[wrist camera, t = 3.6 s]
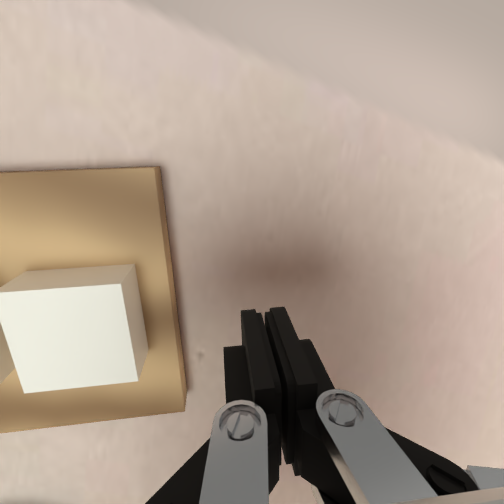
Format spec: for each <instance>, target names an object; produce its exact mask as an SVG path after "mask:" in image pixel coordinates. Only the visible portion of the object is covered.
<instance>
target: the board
mask: <svg viewBox="0 0 504 504" xmlns="http://www.w3.org/2000/svg"><path fill="white" fill-rule="evenodd" d="M124 264H135V269H136V275H137V281H138V287H139V293H140V300H141V306H142V312H143V318H144V324H145V331H146V337H147V343H148V349H149V350H148V353H147V356H146V359H145V362H144V366H143V369H142V372H141V375H140V378H139V381H136V382H127V383H118V384H108V385H99V386H90V387H81V388H71V389H62V390H53V391H43V392H34V393H25V394H24V392H23V389H22V386H21V383H20V380H19V377H18V374H17V371H16V368H15V369H14V370H13V371H12V372H11V373H10V374H9V375H8V376H7V377H6V378H5V380H4V381H3V382H2V383H1V384H0V433H7V432H16V431H24V430H32V429H41V428H49V427H58V426H66V425H74V424H83V423H91V422H99V421H108V420H116V419H125V418H133V417H141V416H150V415H158V414H166V413H175V412H183V411H185V405H186V396H187V387H186V379H185V371H184V362H183V354H182V346H181V337H180V329H179V321H178V312H177V304H176V296H175V287H174V279H173V271H172V263H171V254H170V246H169V238H168V229H167V221H166V213H165V204H164V196H163V188H162V179H161V171H160V166H157V167H128V168H99V169H71V170H42V171H13V172H0V287H2V286H3V285H5V284H6V283H8V282H9V281H11V280H13V279H14V278H16V277H17V276H19V275H21V274H22V273H24V272H25V271H35V270H50V269H65V268H80V267H95V266H110V265H124Z"/></svg>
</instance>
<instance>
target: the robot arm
mask: <svg viewBox="0 0 504 504" xmlns="http://www.w3.org/2000/svg"><path fill="white" fill-rule="evenodd" d="M241 329H242V346H232V347H224V369H225V390H226V405H224V406H223V407H222V408H220V410H219V411H218V412H217V413H216V415H215V418H214V421H213V426H212V432H211V437H210V438H209V439H208V440H207V441H206V442H205V443H204V444H203V446H202V447H201V448H200V449H199V450H198V451H197V452H196V453H195V454H194V455H193V456H192V457H191V458H190V459H189V460H188V461H187V462H186V463H185V464H184V465H183V466H182V467H181V468H180V469H179V470H178V471H177V472H176V473H175V474H174V475H173V476H172V477H171V478H170V479H169V480H168V481H167V482H166V483H165V484H164V485H163V486H162V487H161V488H160V489H159V490H158V491H157V492H156V493H155V494H154V495H153V496H152V497H151V498H150V499H149V500H148V501H147V502H146V503H145V504H269V494H270V493H271V491H272V490H273V488H274V487H275V485H276V484H277V482H278V481H279V465H281V445H282V450H283V454H284V459H285V462H286V464H292V466H293V470H294V474H295V476H299V475H301V477H302V478H304V479H305V480H307V481H308V482H310V483H311V484H312V485H311V488H312V491H313V495H314V497H315V500H316V502H317V504H504V469H499V468H489V467H479V466H469V465H467V469H466V470H463V469H462V468H460V467H459V466H458V465H456V464H454V463H453V462H451V461H450V460H448V459H446V458H444V457H442V456H440V455H438V454H436V453H434V452H432V451H430V450H428V449H426V448H424V447H422V446H420V445H418V444H416V443H414V442H412V441H410V440H409V439H407V438H405V437H403V436H401V435H399V434H397V433H395V432H393V431H391V430H389V429H387V428H385V427H384V426H383V425H382V424H381V422H380V421H379V420H378V419H377V417H376V416H375V415H374V413H373V412H372V411H371V410H370V408H369V407H368V406H367V404H366V403H365V402H364V401H363V400H362V399H361V398H360V397H358V396H357V395H355V394H354V393H352V392H349V391H346V390H340V389H335V388H334V386H333V384H332V382H331V380H330V378H329V376H328V374H327V372H326V370H325V368H324V366H323V364H322V362H321V360H320V358H319V356H318V354H317V352H316V350H315V348H314V346H313V344H312V342H311V340H310V339H304V340H299V339H298V336H297V334H296V332H295V330H294V327H293V325H292V323H291V320H290V318H289V316H288V313H287V311H286V309H285V307H276V308H270V312H265V325H264V321H263V318H262V314H261V313H256V310H255V309H252V310H241Z"/></svg>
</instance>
